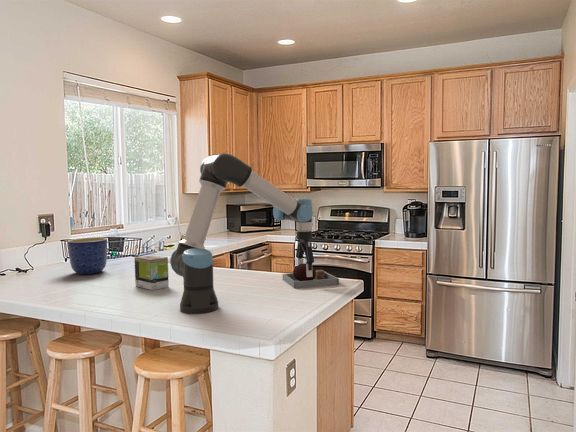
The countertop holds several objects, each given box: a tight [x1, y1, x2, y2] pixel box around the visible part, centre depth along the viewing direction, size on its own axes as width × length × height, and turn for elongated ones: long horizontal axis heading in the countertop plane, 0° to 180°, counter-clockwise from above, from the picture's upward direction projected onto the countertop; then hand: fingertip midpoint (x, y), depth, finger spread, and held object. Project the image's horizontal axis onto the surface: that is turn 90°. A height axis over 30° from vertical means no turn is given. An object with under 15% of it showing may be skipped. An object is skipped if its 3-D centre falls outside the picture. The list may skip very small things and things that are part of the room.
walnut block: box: [315, 269, 325, 280], centre depth 236 cm, size 4×4×4 cm
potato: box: [292, 262, 316, 281], centre depth 227 cm, size 9×12×9 cm
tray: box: [282, 270, 340, 289], centre depth 228 cm, size 22×20×4 cm
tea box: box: [134, 254, 170, 291], centre depth 227 cm, size 15×10×15 cm, turn 47°
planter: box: [66, 236, 108, 276], centre depth 265 cm, size 21×21×19 cm
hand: (305, 274), depth 228 cm, fingers open, 13 cm apart
